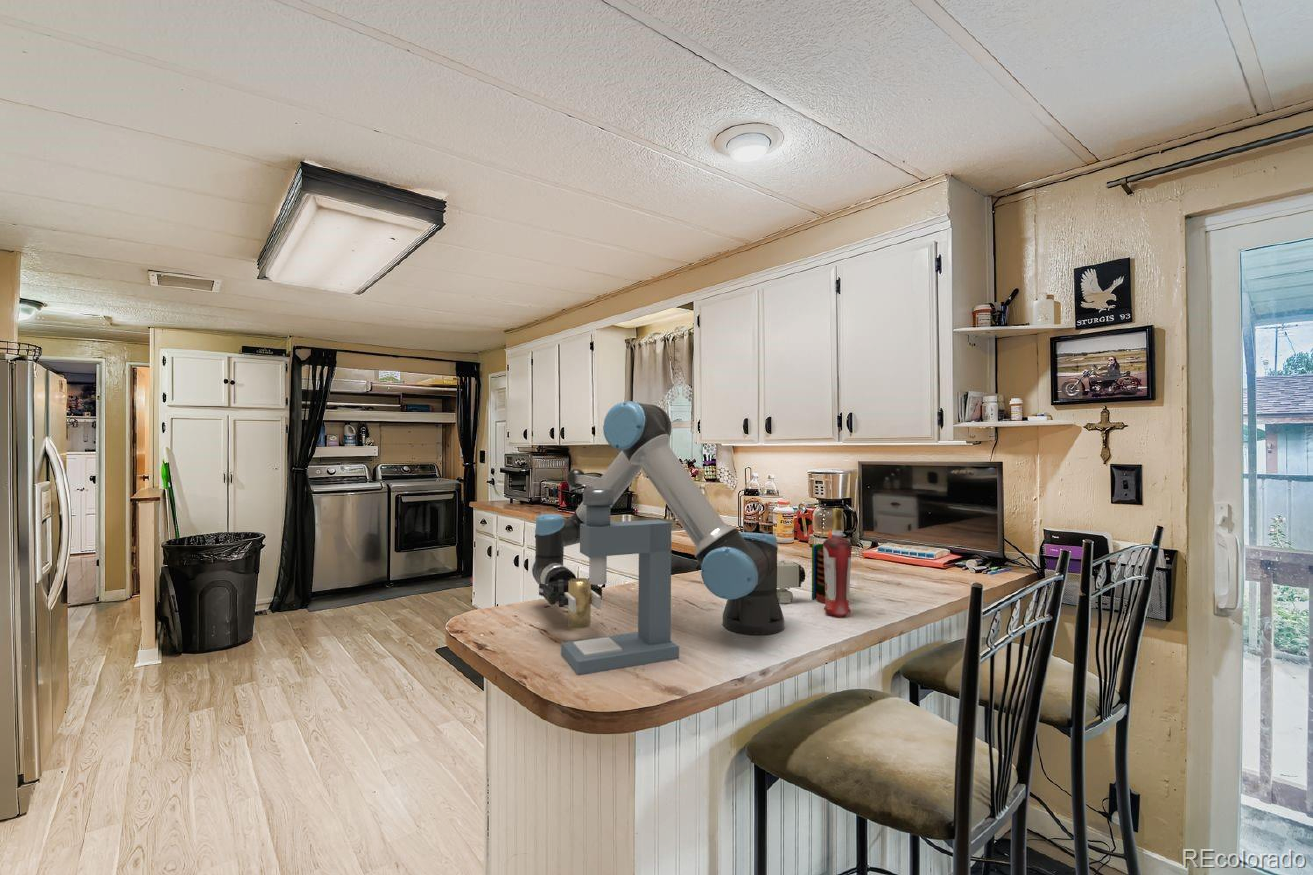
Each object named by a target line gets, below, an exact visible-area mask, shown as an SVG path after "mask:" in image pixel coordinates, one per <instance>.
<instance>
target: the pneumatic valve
mask: <svg viewBox="0 0 1313 875" xmlns="http://www.w3.org/2000/svg"><path fill="white" fill-rule="evenodd" d="M805 580H806V571H805V569H804V567H803V566H802V565H801V564H799V563H797V562H795V561H790V562H789V561H787V562H786V560H784V559H781V562H777V597H778V601H779V604H780V605H783V604H791V603H792V601H793V599H794V595H793V592H792V591H790V589H791V588H792V589H793V588H801V587H802V583H804V582H805Z"/></svg>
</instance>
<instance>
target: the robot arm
mask: <svg viewBox="0 0 1313 875" xmlns="http://www.w3.org/2000/svg"><path fill="white" fill-rule="evenodd" d="M603 421H604V422H603V425H602V426H603V427H602V428H603V429H602V431H603V436H604V439H605V440H606V442H607V444H609V446H610V447H612V448H614V449H616V450H618V451H620V452H618V455H617V456H616V457H615V459H613V461H612V463H610V465H609V466H608V467H607V469H606V470H605V471H604V472H603V474H602V476H601V477H600V478H603V487H592V488H591V489H613V490H614V504H615V503H616V502H617V501H618V499H619V498H620V497H621V496H622V495H623V494H624V492H625V491H626V489H627V488H628V487H629V486H630V484H631V483H632V482H633V481H634V479H635V478H636V477H637V476H638V474H639V473H640V472H641V470H642V471H643V472H644V473H645V475H646V477H647V478H648V479H649V481H650V483H651V484H652V485H653V487H654V488H655V490H657V492H658V494H659V495H660V497H661V498H662V500H663V501H664V502H665V504H666V505H667V506H668V508H669V510H670V511H671V513H672V515H674V517H675V518H676V519H677V522H678V523H679V524H680V525H681V527H682V529H683V530H684V531H685V533H686V535H687V536H688V537H689V539H690V540H691V541H692V543H693V544H694V546H695V552H694V557H695V558H696V560H697V562H698V563H699V564H700V570H701V572H700V576H701V579H702V581H703V584H704V586H705V587H706V589H707V590H708V591H709V593H711V594H712V595H714V596H715V597H718V598H720V599H723V600H724V599H725V600H726V603H725V606H724V609H723V612H722V617H721V618H722V619H721V620H722V623H721V624H722V626H723V627H724V628H725V629H726V630H729V631H732V632H736V633H740V634H745V635H772V634H777V633H779V632H781V631H783V630H784V628H785V617H784V614H783V610H782V608H781V604H779V601H778V597H777V589H778V588H777V563H778V550H779V546H778V539H777V537H776V536H775V535H774V534H769V533H759V532H748V531H747V532H745V531H739V530H738V529H737V527H735V526H732V525H731V526H730V525H727V524H726V523H725V522H724V520H723V519H722V518H721V516H720V514H718V512H717V510H715V508H714V507H713V505H712V504H711V503H710V501H709V500H708V498H707V497H706V496H705V494H704V493H703V491H702V490H701V489H700V487H699V486H698V484H697V483H696V481H695V480H694V479H693V478H692V476H691V475H690V473H689V472H688V471H687V469H686V468H685V467H684V465H683V464H682V462H681V461H680V459H679V458H678V457H677V455H676V454H675V452H674V451H673V450H672V448H671V447H670V446H669V444H670V439H671V438H670V437H671V435H672V429H673V428H672V421H671V418H670V416H669V415H668V413H667V412H666V411H665V410H664V409H663V408H661V407H660V406H657V405H656V404H655V405H654V404H646V403H641V402H636V401H633V400H632V401H630V400H629V401H624V402H623V401H621V402H619V403H616V404H615V405H613V406H612V407H610V408H609V410H608V412H607V413H606V415H605V417H604V419H603ZM586 506H587V505H583V500H582V501H581V503H580V504H579V505H578V506H577V508H576V509H575V511H574V512H573V513H572V514H571V516H570V517H569V518H564V516H563V515H562V514H557V513H548V514H547V513H546V514H540V515H538V516H536V520H535V529H534V533H535V548H534V549H535V550H534V551H535V557H534V563H533V564H532V567H531V574H532V577H533V578H534V580H535V583H537V585H538V595H539V596H541V597H542V598H544V599H545V600H546V601H547V602H548V604H550V605H555V604H556V603H558V608H564V607H566V608H567V609H570V610H571V611H572V612H576V599H575V598H574V597H573V596H571V595H570V594H569V593H568V581H569V580H570V579H575V578H577V576H576V575H575V573H574V572H573V571H572V570H570V569H569V568H568V567H566V566H565V565H564V557H565V555H564V550H565V549H564V548H565V547H569V546H573V545H577V544H580V524H586ZM613 506H614V505H610V509H611V508H613ZM602 599H603V588H602V587H601V586H599V585H593V584H591V606H593V607H594V608H595V609H596V610H601V609H602Z"/></svg>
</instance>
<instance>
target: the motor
mask: <svg viewBox="0 0 1313 875" xmlns="http://www.w3.org/2000/svg"><path fill="white" fill-rule="evenodd" d="M827 532H828V533H827V539H830V538H832V529H831V530H830V529H829V530H828V531H827ZM811 601H816V602H818V603H820V604H823V605H825V573H824V552H823V543H817V544H813V545H812V546H811Z"/></svg>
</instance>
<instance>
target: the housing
mask: <svg viewBox="0 0 1313 875" xmlns="http://www.w3.org/2000/svg"><path fill="white" fill-rule="evenodd" d="M568 593H569V594H570V595H571V596H573V597H574V598H575V599H576V612H572V611H571V610H570V609H568V608H567V609H568V611H567V612H568V613H567V614H568V615H567V618H568V619H567V626H568V627H569V628H572V629H586V628H588V627H590V626H591V617H592V616H591V609H592V608H591V606H592V604H591V584H590V583H589V578H587V577H586V578H584V577H576V578H575V579H570V580H569V581H568Z"/></svg>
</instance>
